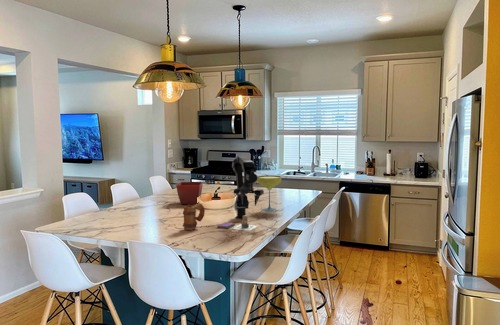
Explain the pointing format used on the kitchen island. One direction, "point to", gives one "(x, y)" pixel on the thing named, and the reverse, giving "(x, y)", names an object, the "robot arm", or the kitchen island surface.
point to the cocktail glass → (269, 185)
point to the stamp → (245, 222)
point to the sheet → (245, 228)
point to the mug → (192, 216)
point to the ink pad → (226, 225)
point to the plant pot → (189, 192)
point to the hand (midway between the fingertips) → (248, 205)
